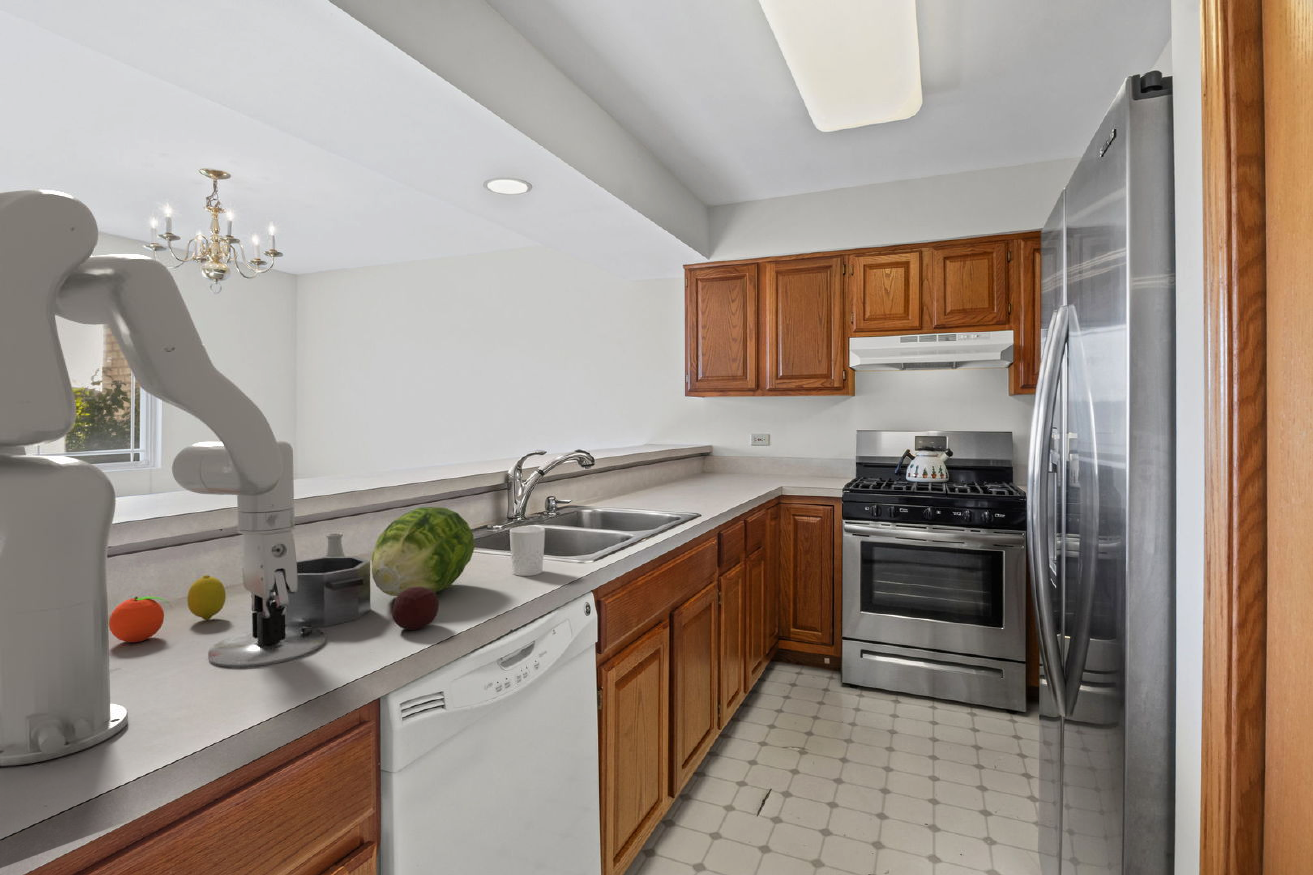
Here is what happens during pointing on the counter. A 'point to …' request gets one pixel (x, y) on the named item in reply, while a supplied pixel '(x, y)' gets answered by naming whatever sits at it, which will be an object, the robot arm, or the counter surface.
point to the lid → (266, 647)
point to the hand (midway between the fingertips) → (269, 637)
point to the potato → (415, 608)
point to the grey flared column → (334, 545)
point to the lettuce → (422, 551)
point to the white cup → (527, 550)
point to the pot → (329, 592)
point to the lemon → (206, 597)
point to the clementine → (136, 619)
